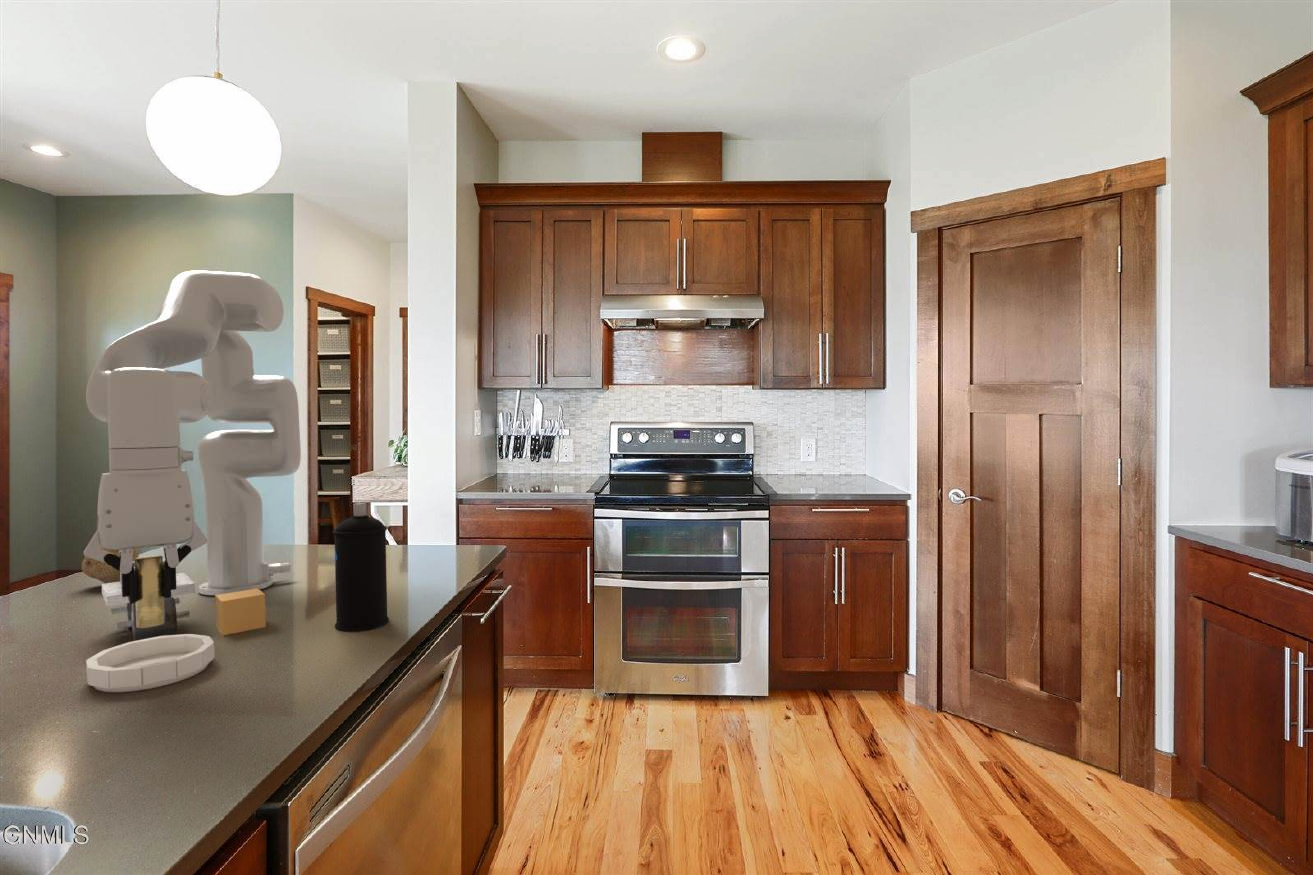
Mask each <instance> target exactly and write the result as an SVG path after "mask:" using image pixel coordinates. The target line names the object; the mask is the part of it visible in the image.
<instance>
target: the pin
mask: <svg viewBox="0 0 1313 875" xmlns="http://www.w3.org/2000/svg"><path fill="white" fill-rule="evenodd" d="M163 556H164V555H162V554H154V555H152V554H151V555H145V556H139V557H138V558H135V559H134V563H135V572H136V573H137V600H138V601H137V602H136V627H138V628H148V627H154V626H158V625H161V624H163V623H164V622H165V621H164V595H163V558H164V557H163Z"/></svg>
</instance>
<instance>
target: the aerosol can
mask: <svg viewBox="0 0 1313 875" xmlns="http://www.w3.org/2000/svg"><path fill="white" fill-rule="evenodd" d="M352 507H353V509H352V510H353V515H352V516H351V517H349V518H346V519H345V520H343V521H341V522H340V523H339V524H338V525H337V526H336V528H334V529H333V530H332V534H333V535H334V536H333V537H334V566H335V575H334V576H335V612H336V614H335V617H336V619H335V620H336V622H335V624H334V628H335V629H336V630H338V631H342V632H363V631H364V632H365V631H370V630H375V629H377V628H378V629H379V628H381V627H382V626H385V625H387V624H388V623H389V621H390V617H389V616H388V588H387V587H388V585H387V583H388V582H387V544H386V543H387V537H386V532H387V530H388V526H386V525H384V523H383V522H382V521H381V520H379V519H378V518H376V517H372V516H369V515H367V503H366V502H356V503H355V502H354V503H353V504H352Z"/></svg>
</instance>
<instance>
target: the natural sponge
mask: <svg viewBox="0 0 1313 875" xmlns="http://www.w3.org/2000/svg"><path fill="white" fill-rule="evenodd" d="M101 550H104V551H107V552H110V553H113V554H115V555H116V556H118V557H119V550H108V549H105V548H103V547H102V546H101ZM138 557H140V552H139V548H136V549H133V559H132V562H134V559H135V558H138ZM81 570H82V572H83V574H84V575H85V576H87V577H89V578H92V579H95V580H98V581H100V582H102V584H106V583H113V582H120V581H121V578H120V571H118V570H117V569H115V568H114V567H112V566H110V565H109V564H107V563H106V562H102V561H98V560H95V559H91V558H88V557H86V556H85V555H84V558H83V560H82V561H81Z"/></svg>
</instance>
